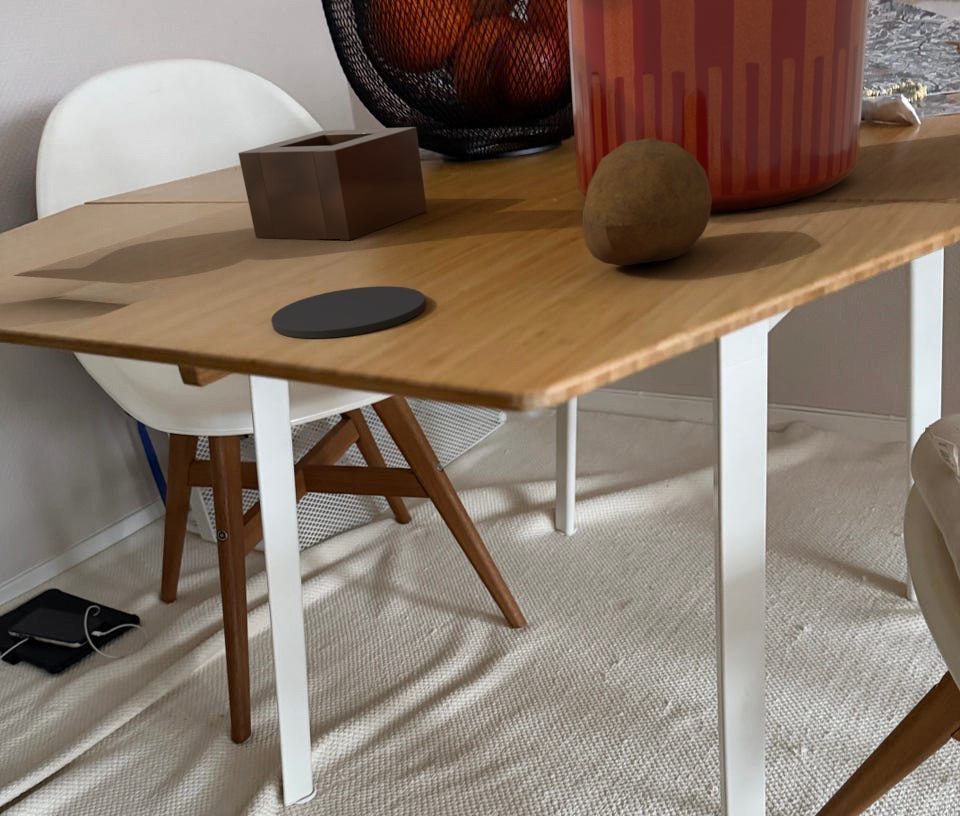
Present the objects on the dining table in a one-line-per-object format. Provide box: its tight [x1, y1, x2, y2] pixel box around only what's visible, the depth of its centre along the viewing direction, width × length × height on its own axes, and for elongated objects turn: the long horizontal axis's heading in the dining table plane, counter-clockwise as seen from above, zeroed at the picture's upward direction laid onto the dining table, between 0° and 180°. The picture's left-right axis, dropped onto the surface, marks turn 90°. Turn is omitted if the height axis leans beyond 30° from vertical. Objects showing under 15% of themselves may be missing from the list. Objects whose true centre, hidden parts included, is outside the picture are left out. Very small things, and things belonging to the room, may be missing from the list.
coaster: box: [270, 285, 427, 339], centre depth 70 cm, size 10×10×1 cm
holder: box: [237, 126, 428, 241], centre depth 96 cm, size 11×11×7 cm
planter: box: [566, 0, 870, 214], centre depth 87 cm, size 23×23×20 cm
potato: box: [582, 138, 712, 266], centre depth 71 cm, size 8×12×8 cm, turn 158°
